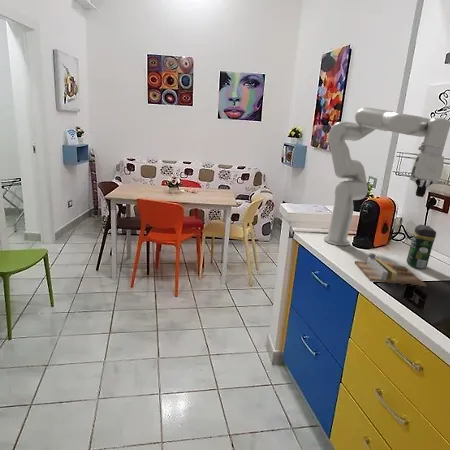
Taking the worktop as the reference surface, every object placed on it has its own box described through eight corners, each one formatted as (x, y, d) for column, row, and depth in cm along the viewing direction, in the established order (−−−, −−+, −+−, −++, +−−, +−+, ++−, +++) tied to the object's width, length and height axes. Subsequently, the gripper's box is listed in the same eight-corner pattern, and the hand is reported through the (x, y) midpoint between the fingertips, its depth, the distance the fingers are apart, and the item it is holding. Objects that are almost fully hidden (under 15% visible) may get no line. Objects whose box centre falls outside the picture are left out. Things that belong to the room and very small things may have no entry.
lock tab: (381, 268, 146) (382, 261, 146) (388, 269, 147) (390, 261, 146) (383, 271, 144) (386, 263, 143) (391, 272, 144) (393, 264, 143)
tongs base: (364, 262, 152) (366, 252, 151) (372, 263, 152) (374, 253, 151) (380, 280, 135) (383, 269, 134) (389, 281, 135) (392, 270, 134)
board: (354, 262, 153) (355, 258, 152) (404, 268, 153) (405, 264, 153) (369, 280, 136) (370, 275, 135) (426, 287, 136) (427, 282, 135)
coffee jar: (404, 260, 164) (414, 222, 159) (422, 263, 162) (433, 225, 157) (408, 267, 155) (419, 227, 150) (427, 271, 153) (439, 230, 148)
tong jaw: (372, 265, 149) (374, 257, 148) (376, 265, 149) (378, 258, 148) (390, 280, 135) (392, 272, 134) (395, 281, 135) (397, 273, 134)
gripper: (417, 149, 135) (405, 196, 141) (456, 154, 136) (442, 200, 141) (408, 148, 143) (397, 192, 148) (445, 152, 143) (432, 196, 148)
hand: (419, 196), depth 144 cm, fingers closed
